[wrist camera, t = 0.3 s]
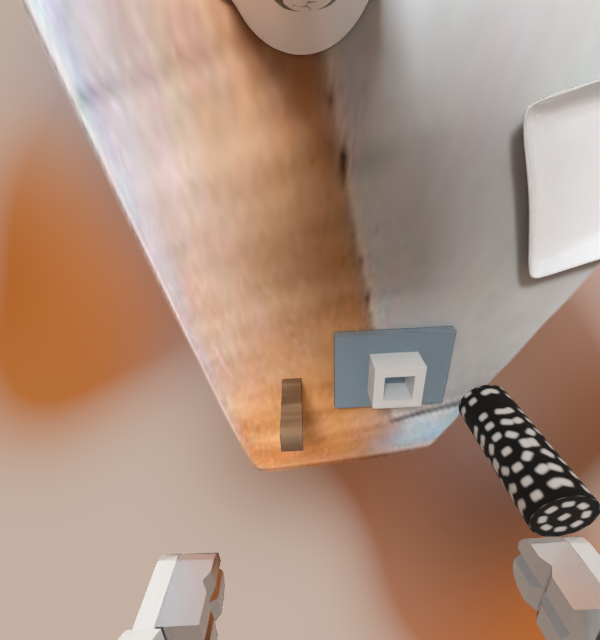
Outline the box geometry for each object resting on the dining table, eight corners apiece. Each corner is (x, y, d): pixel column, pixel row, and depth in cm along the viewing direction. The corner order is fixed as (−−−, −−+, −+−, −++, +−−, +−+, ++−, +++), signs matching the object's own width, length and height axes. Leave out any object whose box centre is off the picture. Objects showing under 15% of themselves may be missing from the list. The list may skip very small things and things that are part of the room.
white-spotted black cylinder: (485, 377, 56) (573, 486, 38) (517, 398, 58) (614, 511, 41) (448, 408, 59) (514, 523, 41) (480, 427, 61) (555, 543, 44)
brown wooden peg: (282, 379, 55) (279, 435, 45) (300, 378, 55) (302, 434, 45) (283, 393, 57) (281, 451, 46) (301, 392, 57) (303, 450, 46)
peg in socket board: (333, 332, 51) (338, 352, 46) (452, 326, 51) (468, 345, 46) (334, 402, 58) (337, 426, 53) (438, 396, 58) (452, 420, 53)
